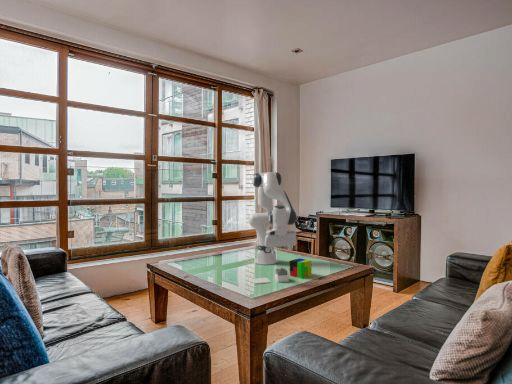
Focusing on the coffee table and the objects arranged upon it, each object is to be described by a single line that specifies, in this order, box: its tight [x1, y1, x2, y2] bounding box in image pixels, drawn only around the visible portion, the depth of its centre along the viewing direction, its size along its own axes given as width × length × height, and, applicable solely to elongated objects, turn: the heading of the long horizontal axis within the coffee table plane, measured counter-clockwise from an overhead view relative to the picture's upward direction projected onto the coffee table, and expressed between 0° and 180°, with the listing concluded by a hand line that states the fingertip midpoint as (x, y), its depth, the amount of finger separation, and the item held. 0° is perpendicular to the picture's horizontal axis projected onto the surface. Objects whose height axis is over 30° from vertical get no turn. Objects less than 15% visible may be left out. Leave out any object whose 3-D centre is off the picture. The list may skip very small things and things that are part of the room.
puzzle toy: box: [289, 257, 312, 279], centre depth 219 cm, size 10×10×10 cm
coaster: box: [251, 277, 271, 285], centre depth 208 cm, size 10×10×1 cm
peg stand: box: [274, 266, 290, 283], centre depth 209 cm, size 7×7×8 cm
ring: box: [275, 268, 289, 276], centre depth 209 cm, size 6×6×2 cm
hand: (281, 253), depth 209 cm, fingers open, 8 cm apart
